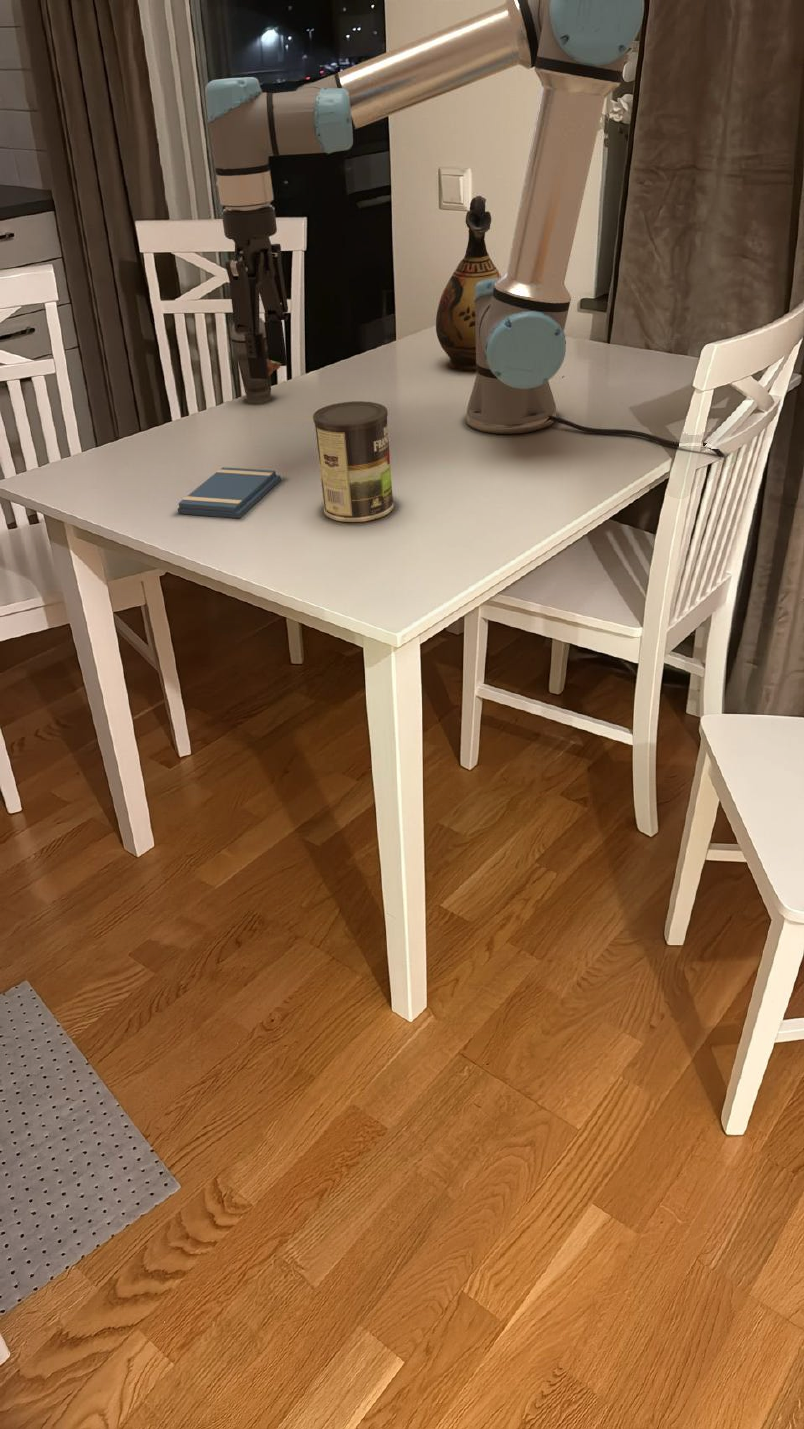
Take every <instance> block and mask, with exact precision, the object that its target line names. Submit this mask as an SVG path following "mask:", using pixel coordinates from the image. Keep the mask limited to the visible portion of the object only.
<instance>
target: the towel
mask: <svg viewBox="0 0 804 1429" xmlns="http://www.w3.org/2000/svg"><path fill="white" fill-rule="evenodd" d="M281 481H282V478H281V475H280V474H277V471H276V470H271V469H254V468H239V467H238V468H237V467H223V466H222V467H221V468H220V469H217V470H216V471H215V473H214V474H213V475H211V476H210V477H209V478H207V479H206V480H205V481H204V482H203V483H201V484H200V485H199V486H198V487H196V488H195V489H194V490H193V491H192V492H190V493H189V494H188V495H185V496H183V498H182V499H181V501H179V502H178V508H177V513H178V514H179V515H190V516H191V515H193V516H203V517H204V516H205V517H217V518H231V519H241V518H242V517H243V516H244V515H245V514H246V513H247V512H248V511H249V510H250V509H252V508H253V507H254V506H255V505H256V504H257V503H258V502H259V501H260V500H261V499H262V498H263V497H264V496H265V495H266V494H268V493H269V492H270V491H271V490H272V489H273V488H274V487H275V486H277V485H278V483H280V482H281Z"/></svg>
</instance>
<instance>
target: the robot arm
mask: <svg viewBox="0 0 804 1429" xmlns="http://www.w3.org/2000/svg"><path fill="white" fill-rule="evenodd" d="M644 12H645V1H644V0H505V2H504V3H503V4H502V5H499V6H497V7H494V8H492V9H490V10H487V11H484V12H482V13H479V14H477V15H475V16H472V17H470V18H468V19H465V20H462V21H460V22H458V23H455V24H453V25H450V26H448V27H445V28H443V29H441V30H439V31H436V32H432V33H431V34H429V35H425V36H424V37H421V38H418V39H416V40H414V41H411V42H409V43H407V44H404V45H402V46H399V47H397V48H394V49H392V50H389V51H387V52H384V53H382V54H380V55H377V56H374V57H373V58H369V59H368V60H365V61H362V62H360V63H358V64H355V65H352V66H350V67H348V68H345V69H343V70H341V71H339V72H337V73H334V74H332V75H328V76H326V77H324V78H322V79H319V80H316V81H314V82H308V83H305V84H303V85H300V86H299V87H297V89H296V90H293V91H283V92H275V93H274V92H269V93H268V92H263V90H262V88H261V85H260V81H259V79H258V78H257V77H253V76H249V77H248V76H245V77H229V78H221V79H220V78H219V79H213V80H210V81H209V82H208V83H207V84H206V86H205V89H204V93H205V94H204V95H205V103H206V104H205V105H206V106H205V107H206V115H207V120H206V122H207V126H208V132H209V137H210V138H209V139H210V145H211V151H212V158H213V162H214V163H213V164H214V168H215V174H216V182H215V187H217V190H218V195H219V196H218V197H219V203H220V205H221V206H222V207H224V209H223V210H222V212H221V220H222V227H223V235H224V237H225V238H226V239H228V240H231V241H233V242H234V253H233V254H234V258H233V259H232V260H226V261H225V264H224V266H225V270H226V273H227V278H228V281H229V291H230V300H231V309H232V317H233V324H234V327H235V332H236V333H237V334H238V335H244V336H245V343H246V350H247V357H248V364H249V371H250V378H252V379H268V378H269V375H268V368H267V360H266V353H265V345H264V337H263V333H259V317H260V301H261V304H262V307H263V311H264V314H265V317H266V321H264V326H265V333H266V341H267V349H268V356H269V360H273V361H277V362H280V363H281V366H280V367H287V366H288V358H287V350H286V341H285V335H284V327H283V325H284V324H283V321H288V320H289V314H288V312H289V305H288V297H287V292H286V291H287V290H286V284H285V277H284V272H283V271H284V270H283V265H282V264H283V263H282V246H281V244H280V243H272V242H271V240H270V237H273V236H274V235H276V233H277V231H278V226H277V218H276V209H275V207H274V206H273V205H272V204H271V203H272V202H273V201H274V200H275V199H274V198H275V197H274V191H273V190H274V189H273V184H272V175H271V169H270V168H271V167H270V163H269V157H280V156H289V155H308V154H323V153H324V154H325V153H326V154H327V155H329V154H332V153H336V152H343V151H349V150H350V149H351V148H352V147H353V145H354V137H353V136H354V133H353V131H355V130H357V129H359V128H363V127H364V126H367V125H370V124H372V123H375V122H377V121H380V120H382V119H384V118H387V117H389V116H392V115H395V114H397V113H399V112H402V111H405V110H407V109H410V108H413V107H414V106H417V105H420V104H423V103H425V102H428V101H430V100H432V99H435V98H437V97H440V96H443V95H445V94H448V93H450V92H454V91H455V90H458V89H461V88H463V87H466V86H469V85H471V84H473V83H476V82H478V81H481V80H484V79H486V78H489V77H491V76H494V75H496V74H499V73H502V72H503V71H506V70H509V69H511V68H514V67H517V66H521V67H522V68H525V69H527V70H530V69H532V68H534V72H535V74H536V76H537V78H538V79H539V81H540V84H541V94H540V99H539V103H538V108H537V114H536V119H535V123H534V130H533V135H532V140H531V144H530V145H531V146H530V151H529V156H528V160H527V166H526V171H525V176H524V182H523V186H522V192H521V198H520V202H519V208H518V213H517V217H516V222H515V223H516V224H515V228H514V233H513V239H512V245H511V248H510V255H509V260H508V265H507V270H506V273H505V274H504V275H503V276H501V278H492V279H486V280H482V281H480V282H478V283H477V285H476V287H475V297H474V303H475V325H476V372H475V374H476V375H475V380H474V382H473V386H472V390H471V393H470V396H469V400H468V404H467V408H466V423H467V425H469V427H471V428H472V429H474V430H478V431H480V432H483V433H484V432H485V433H489V434H498V435H499V434H500V435H513V434H516V435H517V434H524V433H530V432H531V433H532V432H536V431H539V430H543V429H545V428H547V427H550V426H551V425H553V423H559V424H562V425H565V426H567V427H570V428H573V429H576V430H578V431H582V432H585V433H592V434H604V435H605V434H607V435H628V436H634V437H641V438H644V439H648V440H651V441H653V442H657V443H660V444H662V445H663V444H664V445H667V446H670V447H676V448H680V447H679V443H680V442H677V441H674V440H669V439H665V438H662V437H659V436H656V435H653V434H649V433H646V432H644V431H643V432H642V431H637V430H631V429H621V428H619V429H618V428H597V427H596V428H594V427H588V426H583V425H580V424H577V423H575V422H572V421H570V420H566V419H563V418H561V417H557V405H556V401H555V398H554V395H553V390H552V389H551V388H552V387H551V385H550V382H549V381H550V380H551V379H552V378H553V377H554V376H555V375H556V374H557V373H558V371H560V368H561V367H562V365H563V363H564V360H565V357H566V352H567V351H566V350H567V341H566V334H565V332H564V331H565V328H566V323H567V319H568V315H569V310H570V305H571V300H572V296H571V294H570V293H569V291H568V289H567V287H566V284H565V280H566V276H567V272H568V266H569V263H570V258H571V255H572V254H571V253H572V250H573V245H574V240H575V236H576V231H577V226H578V223H579V218H580V213H581V208H582V203H583V200H584V194H585V191H586V186H587V183H588V182H587V181H588V176H589V172H590V167H591V163H592V158H593V154H594V150H595V145H596V140H597V136H598V132H599V127H600V123H601V119H602V114H603V110H604V104H605V100H606V98H607V97H608V96H609V95H610V94H611V93H612V92H614V91H615V90H616V89H617V88H619V86H620V85H621V80H622V76H623V73H624V67H625V63H626V59H627V55H628V51H629V49H630V48H631V47H632V46H633V44H634V42H635V40H636V38H637V36H638V34H639V32H640V30H641V28H642V24H643V18H644V14H645V13H644ZM702 442H703V446H705V445H706V444H707V443H708V442H706V441H705V442H704V441H702ZM704 448H706V447H704ZM706 449H707V448H706ZM708 449H709V450H711V451H713V452H714V453H715V454H716V455H717V457H720V458H725V457H726V456H725V454H724V453H723V452H722V451H721V450H720V449H719V448H718V449H711V448H708Z"/></svg>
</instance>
